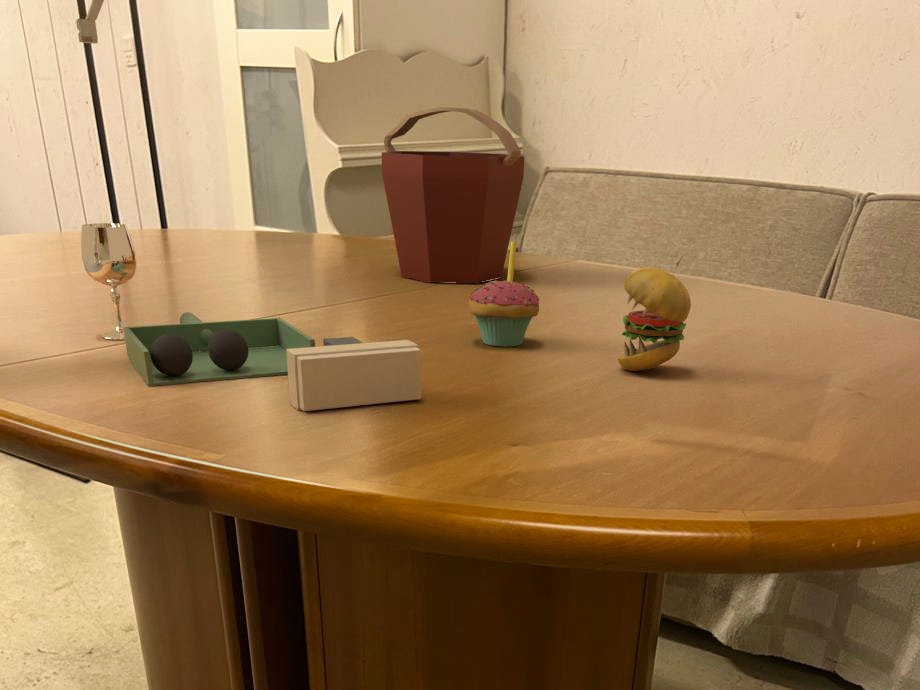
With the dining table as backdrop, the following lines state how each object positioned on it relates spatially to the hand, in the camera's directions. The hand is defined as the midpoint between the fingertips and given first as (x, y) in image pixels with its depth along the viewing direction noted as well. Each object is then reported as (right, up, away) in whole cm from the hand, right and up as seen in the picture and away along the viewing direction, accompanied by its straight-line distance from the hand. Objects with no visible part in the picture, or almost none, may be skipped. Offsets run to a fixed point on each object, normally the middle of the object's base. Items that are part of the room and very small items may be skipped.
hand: (33, 39), depth 83 cm
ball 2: (+15, -25, +11) cm, 31 cm away
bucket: (+36, +8, +75) cm, 83 cm away
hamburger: (+59, -25, +18) cm, 66 cm away
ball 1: (+10, -26, +8) cm, 29 cm away
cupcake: (+43, -18, +29) cm, 55 cm away
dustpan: (+11, -23, +19) cm, 31 cm away
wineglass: (-2, -18, +26) cm, 32 cm away
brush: (+30, -30, +1) cm, 43 cm away
